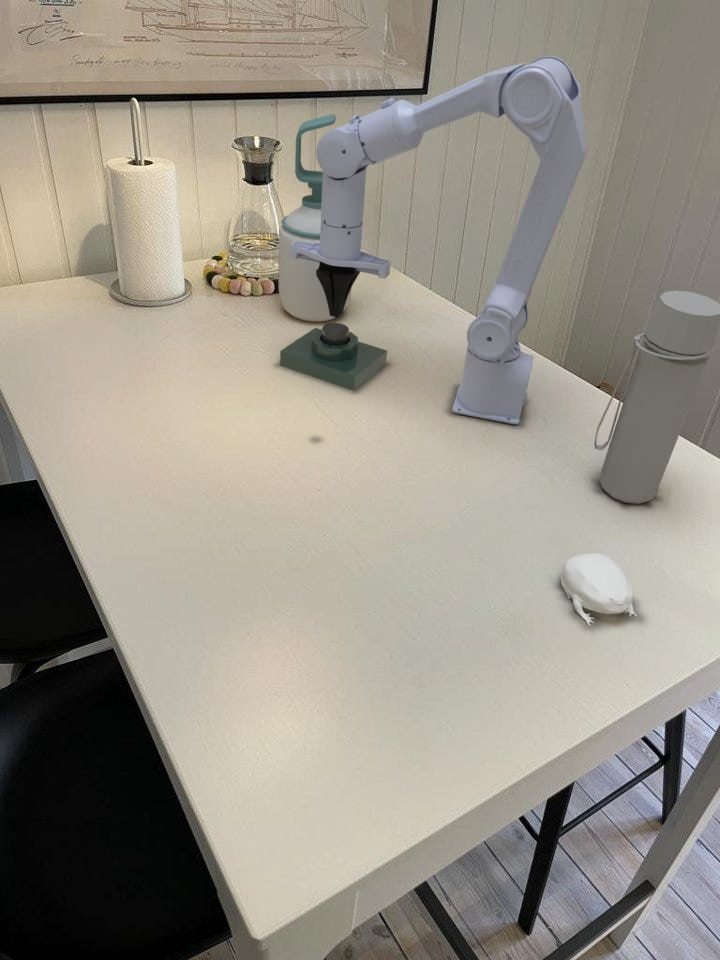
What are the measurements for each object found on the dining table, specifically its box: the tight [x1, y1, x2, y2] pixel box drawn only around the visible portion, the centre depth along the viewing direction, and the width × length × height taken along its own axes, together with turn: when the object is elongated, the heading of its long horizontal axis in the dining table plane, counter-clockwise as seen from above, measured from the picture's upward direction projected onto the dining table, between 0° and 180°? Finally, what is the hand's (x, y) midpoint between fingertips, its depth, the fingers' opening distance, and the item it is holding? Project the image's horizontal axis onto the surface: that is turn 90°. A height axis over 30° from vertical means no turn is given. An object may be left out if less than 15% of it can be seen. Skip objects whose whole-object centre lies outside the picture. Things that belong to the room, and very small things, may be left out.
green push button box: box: [279, 327, 388, 392], centre depth 114 cm, size 13×10×4 cm
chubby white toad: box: [560, 552, 637, 626], centre depth 78 cm, size 8×7×4 cm
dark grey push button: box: [321, 322, 350, 346], centre depth 112 cm, size 4×4×2 cm
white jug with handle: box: [278, 113, 352, 323], centre depth 121 cm, size 12×12×31 cm
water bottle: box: [593, 290, 720, 505], centre depth 88 cm, size 9×8×25 cm
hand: (336, 314), depth 110 cm, fingers closed
